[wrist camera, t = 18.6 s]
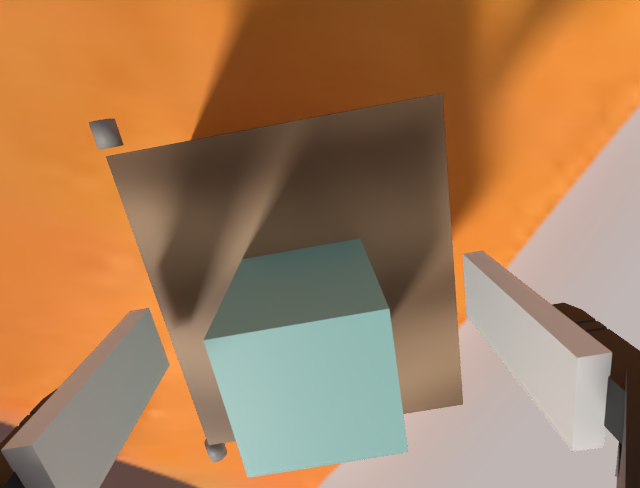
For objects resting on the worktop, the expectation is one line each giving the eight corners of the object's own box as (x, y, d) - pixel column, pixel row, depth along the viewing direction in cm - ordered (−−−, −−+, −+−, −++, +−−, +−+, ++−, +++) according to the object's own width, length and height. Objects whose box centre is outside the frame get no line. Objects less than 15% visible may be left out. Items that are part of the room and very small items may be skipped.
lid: (116, 154, 15) (106, 156, 14) (435, 94, 15) (442, 93, 14) (212, 432, 20) (208, 445, 19) (457, 392, 19) (463, 404, 18)
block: (241, 259, 16) (203, 340, 10) (360, 238, 15) (389, 308, 10) (268, 358, 17) (247, 477, 12) (375, 340, 17) (408, 452, 11)
